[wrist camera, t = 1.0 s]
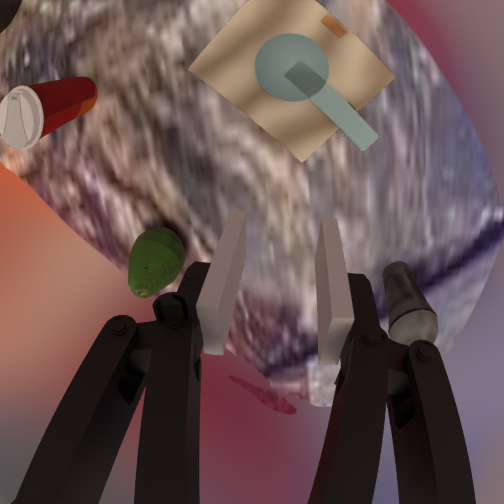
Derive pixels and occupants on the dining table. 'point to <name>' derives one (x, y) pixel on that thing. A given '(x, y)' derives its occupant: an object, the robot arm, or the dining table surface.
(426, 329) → the beverage cup
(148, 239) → the avocado
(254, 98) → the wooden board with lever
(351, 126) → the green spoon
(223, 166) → the dining table surface
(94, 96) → the paper cup
